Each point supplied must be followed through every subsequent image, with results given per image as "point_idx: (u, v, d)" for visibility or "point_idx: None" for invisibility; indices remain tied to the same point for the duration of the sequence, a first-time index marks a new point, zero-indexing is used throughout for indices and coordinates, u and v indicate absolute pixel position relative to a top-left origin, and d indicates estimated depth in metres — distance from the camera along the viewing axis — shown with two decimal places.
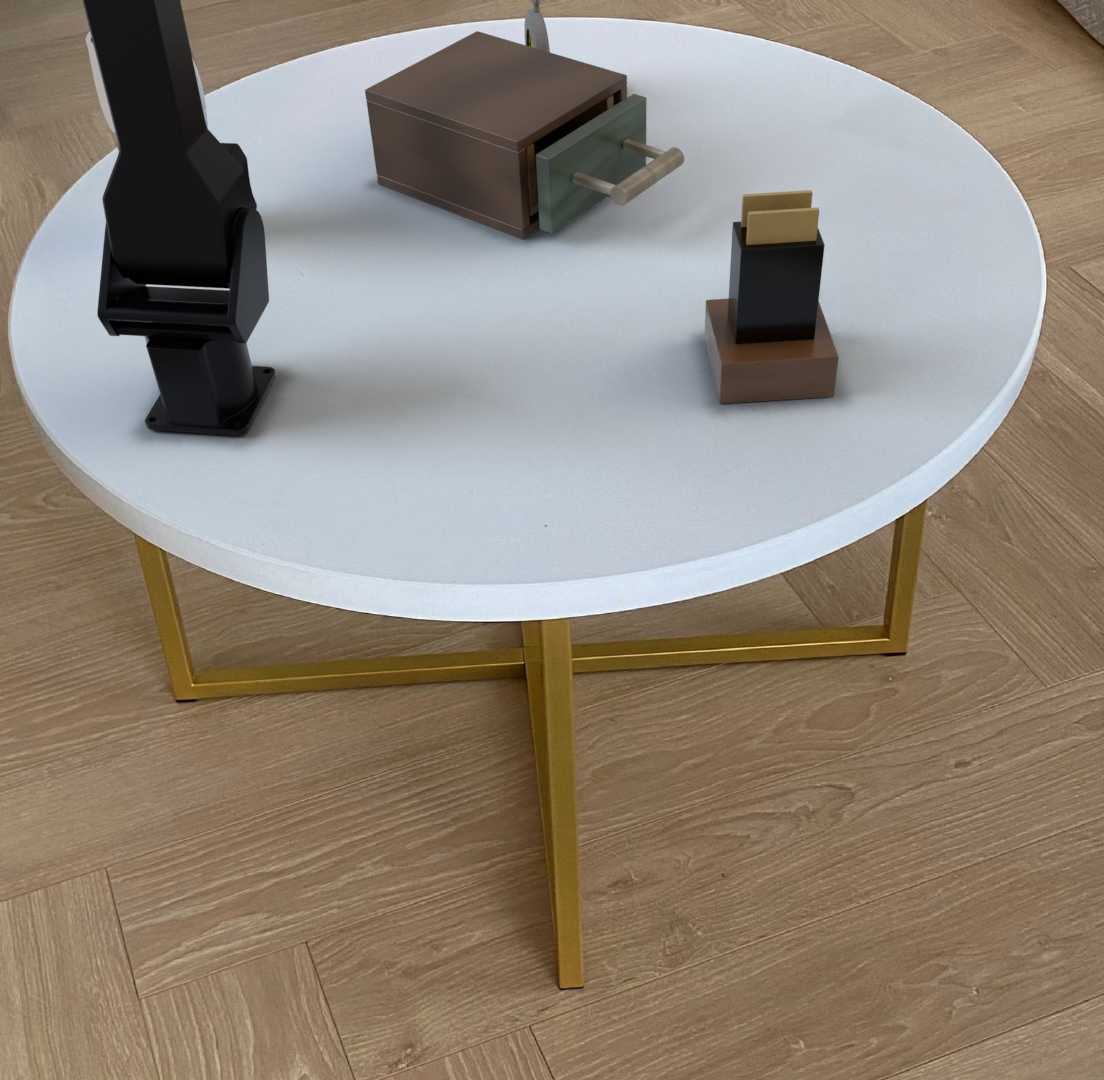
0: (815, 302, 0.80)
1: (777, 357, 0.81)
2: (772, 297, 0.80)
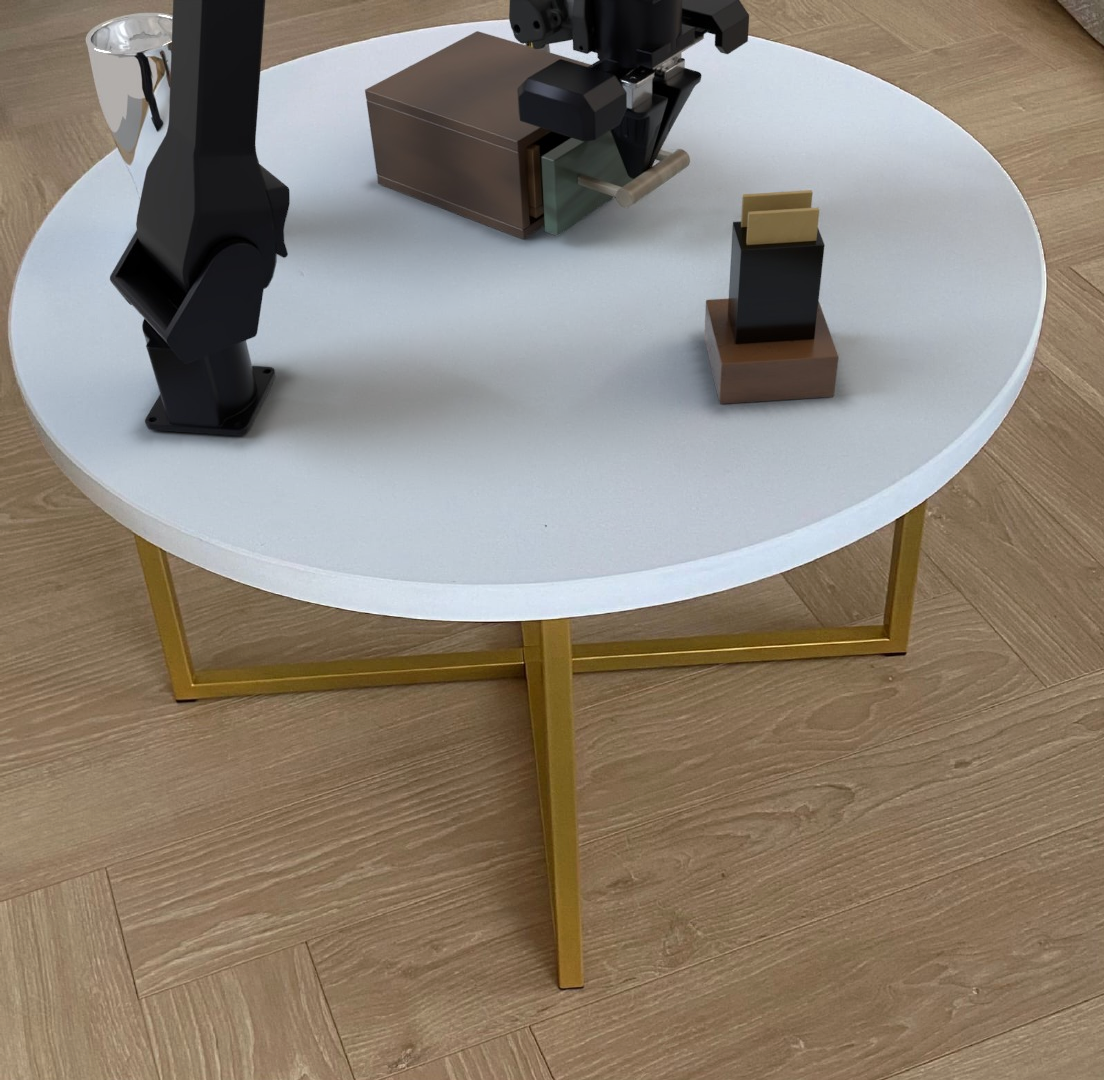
0: (815, 302, 0.80)
1: (777, 357, 0.81)
2: (772, 297, 0.80)
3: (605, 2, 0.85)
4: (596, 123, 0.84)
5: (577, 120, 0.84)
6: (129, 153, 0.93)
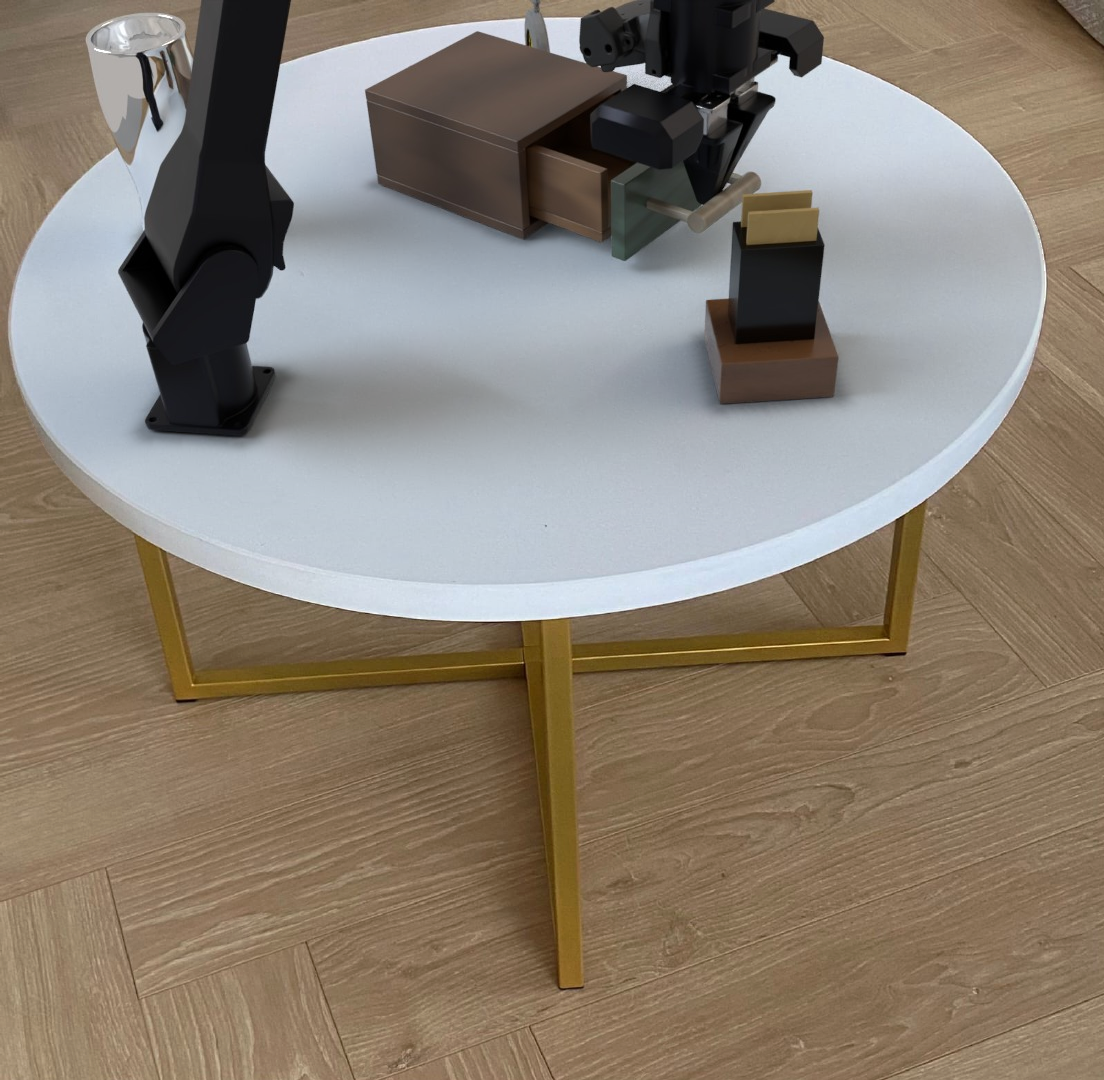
0: (815, 302, 0.80)
1: (777, 357, 0.81)
2: (772, 297, 0.80)
3: (681, 26, 0.83)
4: (673, 151, 0.81)
5: (654, 147, 0.81)
6: (129, 153, 0.93)
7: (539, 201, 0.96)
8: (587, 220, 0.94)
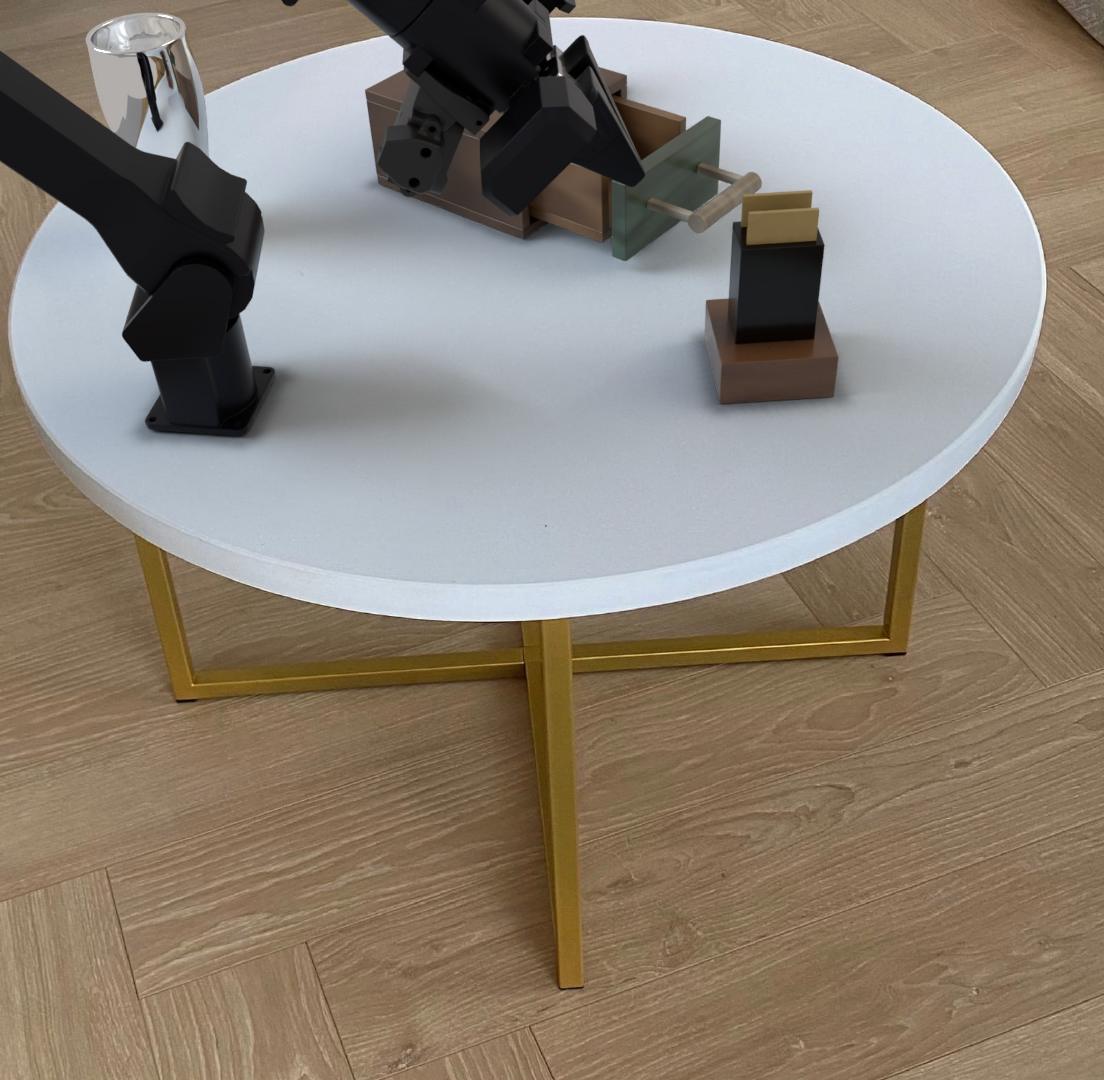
0: (815, 302, 0.80)
1: (777, 357, 0.81)
2: (772, 297, 0.80)
3: (454, 53, 0.68)
4: (581, 115, 0.64)
5: (564, 132, 0.64)
6: None
7: (540, 201, 0.96)
8: (588, 220, 0.94)
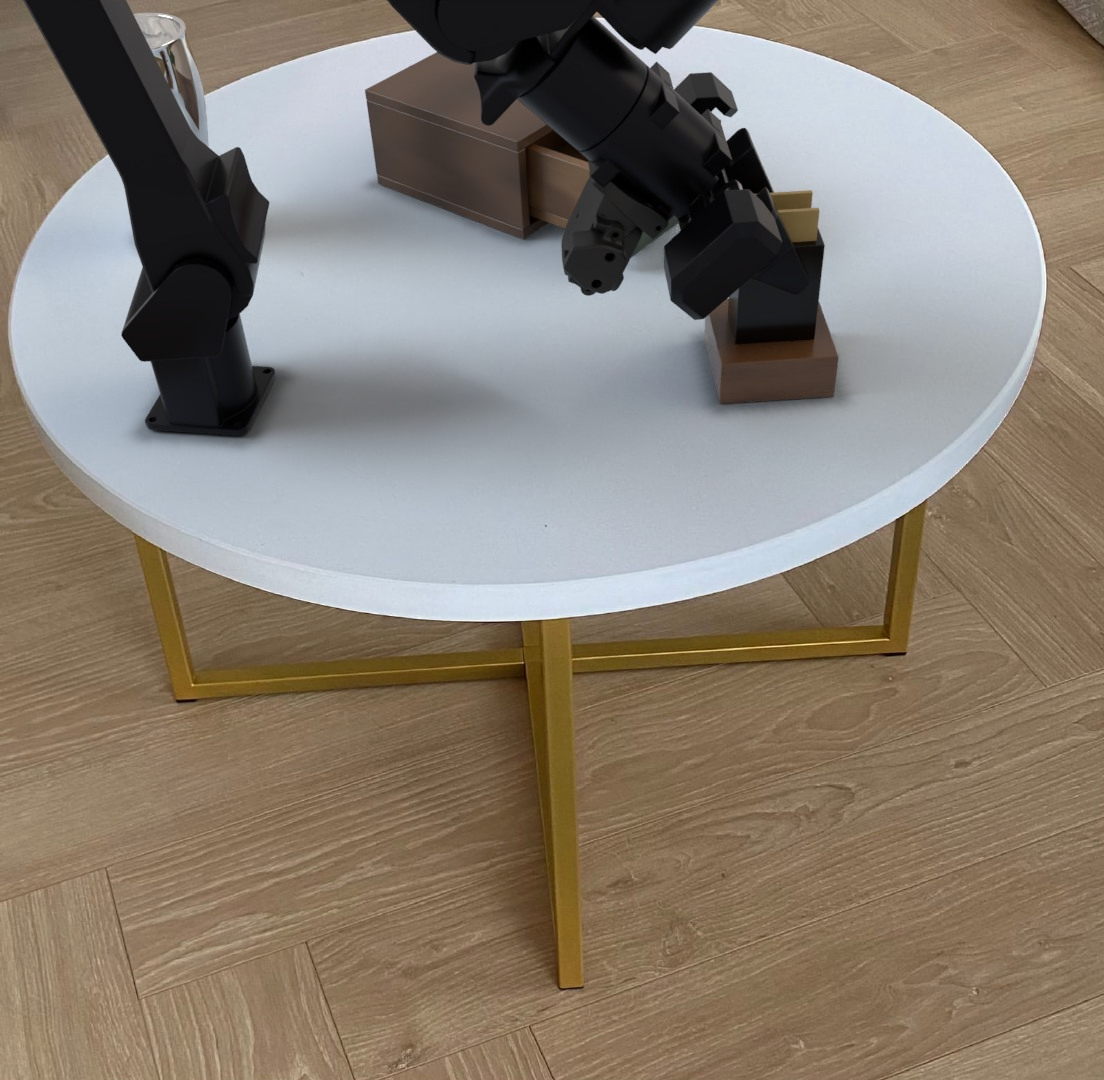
0: (815, 302, 0.80)
1: (777, 357, 0.81)
2: (772, 297, 0.80)
3: (641, 166, 0.72)
4: (768, 229, 0.69)
5: (753, 245, 0.68)
6: None
7: (540, 201, 0.96)
8: None
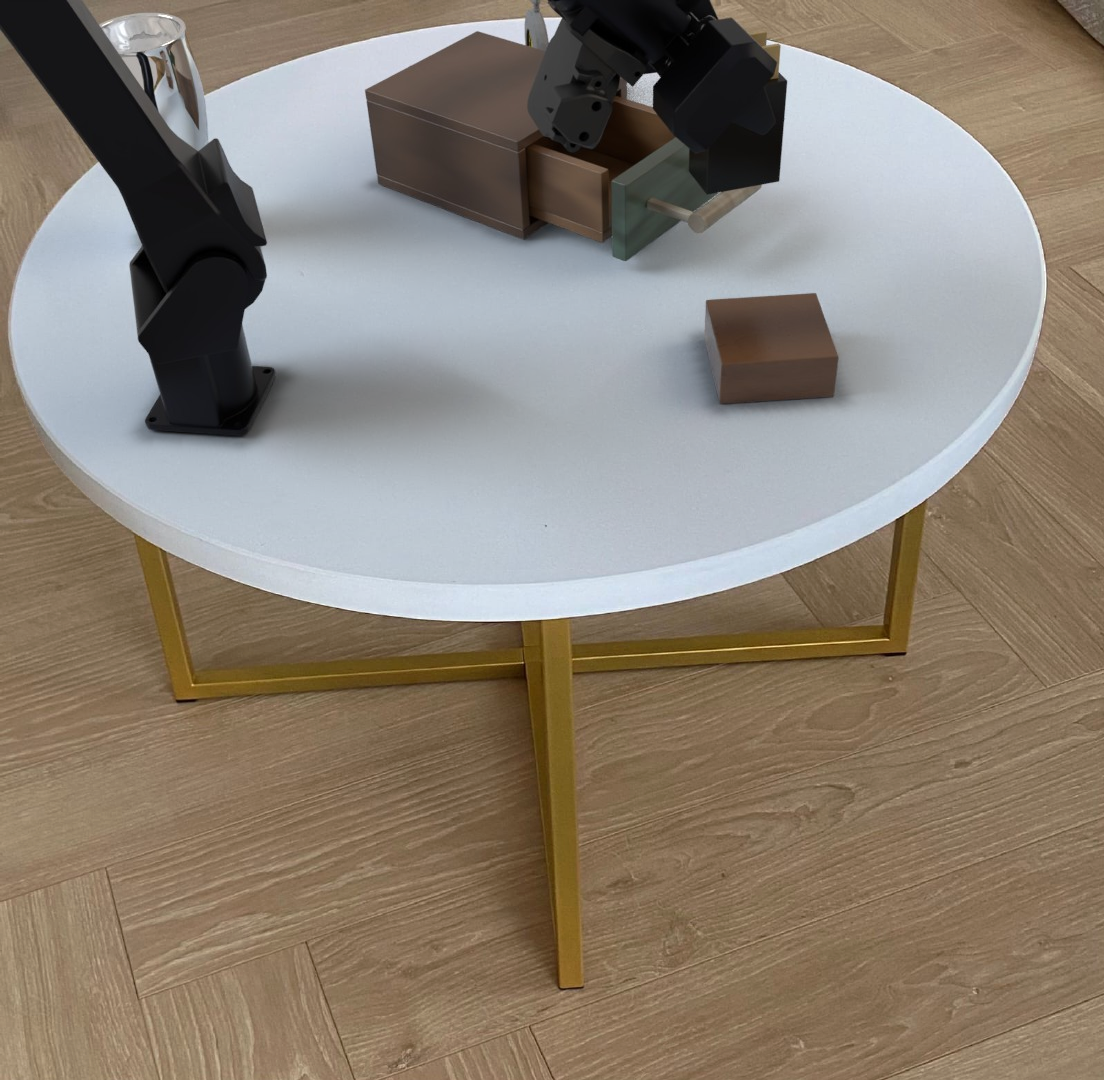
0: (780, 142, 0.82)
1: (777, 357, 0.81)
2: (740, 141, 0.81)
3: (619, 8, 0.72)
4: (764, 49, 0.70)
5: (753, 65, 0.70)
6: None
7: (540, 201, 0.96)
8: (588, 220, 0.94)
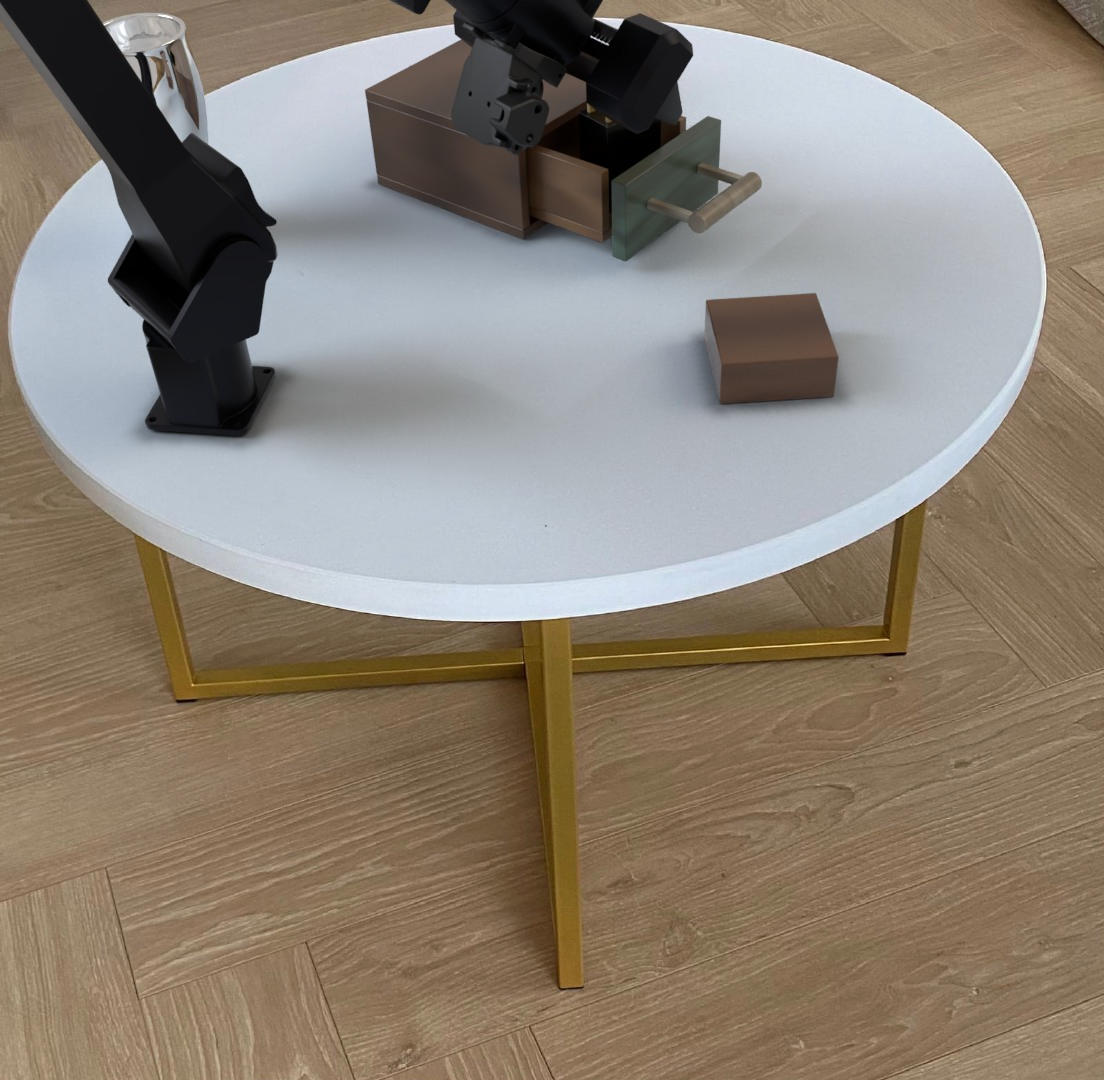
0: None
1: (777, 357, 0.81)
2: (631, 163, 0.94)
3: (544, 20, 0.82)
4: (682, 35, 0.81)
5: (679, 49, 0.81)
6: None
7: (540, 201, 0.96)
8: (588, 220, 0.94)
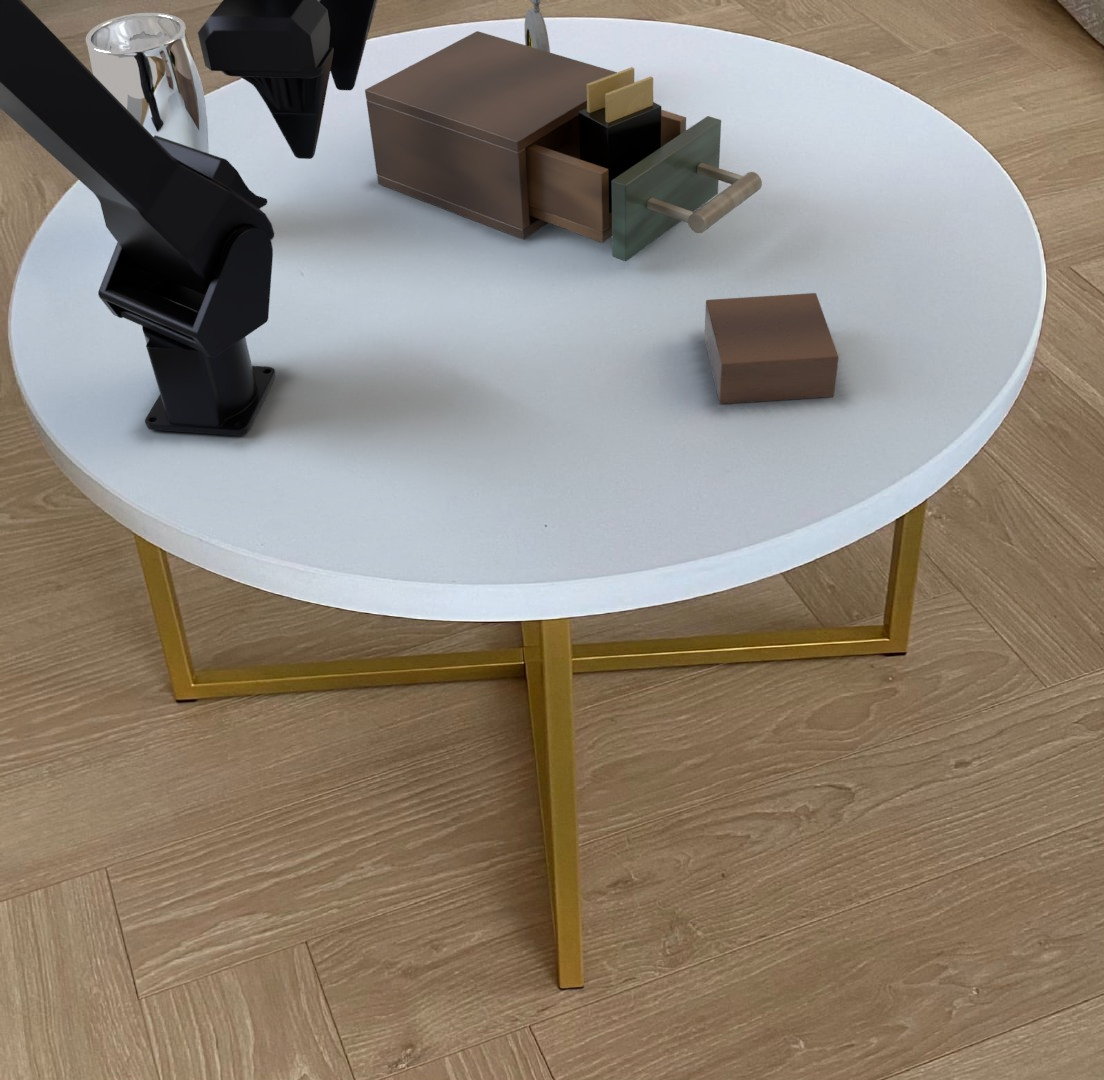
0: None
1: (777, 357, 0.81)
2: (631, 163, 0.94)
3: None
4: (313, 48, 0.71)
5: (291, 48, 0.71)
6: None
7: (540, 201, 0.96)
8: (588, 220, 0.94)
